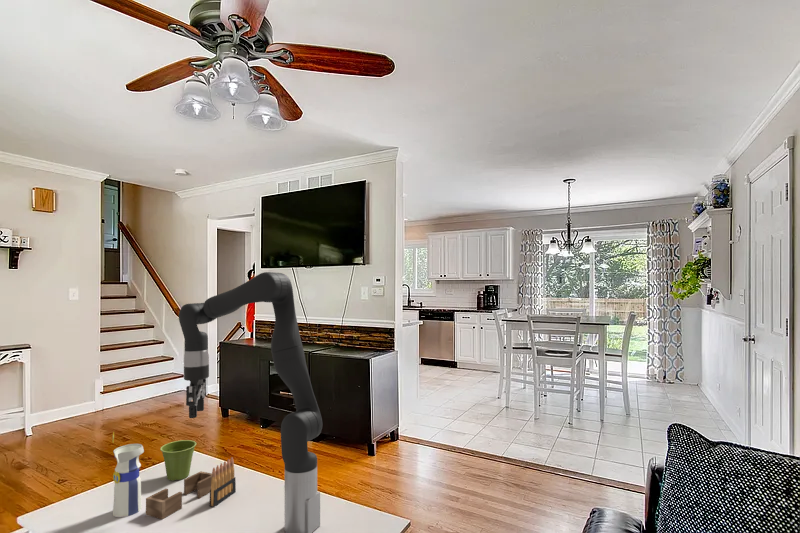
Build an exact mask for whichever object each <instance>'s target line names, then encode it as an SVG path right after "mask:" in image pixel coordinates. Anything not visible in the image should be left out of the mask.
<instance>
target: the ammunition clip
mask: <svg viewBox="0 0 800 533" xmlns="http://www.w3.org/2000/svg"><path fill="white" fill-rule="evenodd" d="M219 464H220V465H218V464H217V465H216V467H213V468H212V471H211V473H212V480H211V490H210V493H209V507H212V508H216V507H217V506H218V505H220V504H221V503H222V502H224V501H225V500H227V499H229V498H230V497H231V496H233V495H234V494H235V493H236V486H237V485H236V483H237V482H236V477H235V466H234V465H235V462H234V457H232V456H231V457H230V459H229V458H228V459H227V461H226V460H224V462H223V463H222V462H220V463H219Z"/></svg>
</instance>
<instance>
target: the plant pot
mask: <svg viewBox="0 0 800 533" xmlns="http://www.w3.org/2000/svg"><path fill="white" fill-rule="evenodd" d="M196 446H197V442H196V441H195V440H190V439H184V440H182V439H181V440H175V441H172V442H168V443H166V444H164V445H162V446H161V447H160V451H161V453H162V456H163V460H164V467H165V472H166V479H167V480H168V481H171V482H172V481H173V482H174V481H177V480H178V481H179V480H180V481H181V480H184V479H186V478H188V477H189V476H190V471H191V467H192V466H191V465H192V460H193V454H194V451H195V447H196Z"/></svg>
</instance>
